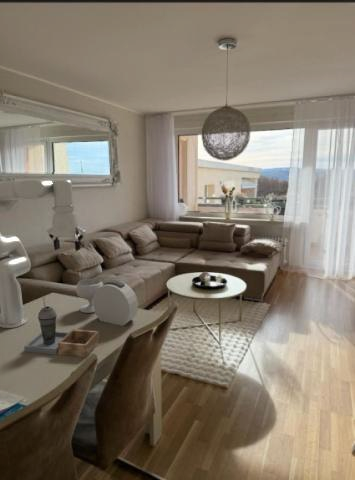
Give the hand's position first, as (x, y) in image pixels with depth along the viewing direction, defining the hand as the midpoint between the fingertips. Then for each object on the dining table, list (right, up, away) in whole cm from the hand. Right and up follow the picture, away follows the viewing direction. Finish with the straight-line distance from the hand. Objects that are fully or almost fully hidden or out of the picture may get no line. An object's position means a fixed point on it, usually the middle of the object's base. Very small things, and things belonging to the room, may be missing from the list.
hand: (67, 249), depth 143 cm
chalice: (+2, -33, +34) cm, 47 cm away
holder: (+7, -40, -6) cm, 41 cm away
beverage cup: (-7, -39, -3) cm, 40 cm away
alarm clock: (+17, -35, +20) cm, 44 cm away
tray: (-6, -40, -3) cm, 40 cm away
